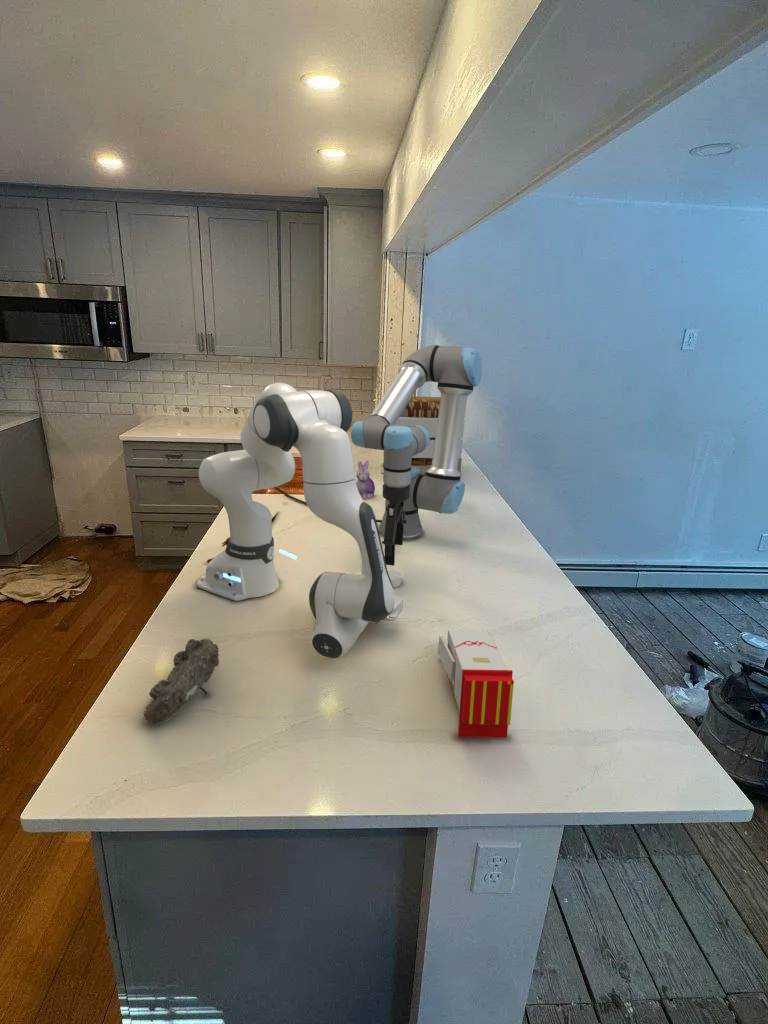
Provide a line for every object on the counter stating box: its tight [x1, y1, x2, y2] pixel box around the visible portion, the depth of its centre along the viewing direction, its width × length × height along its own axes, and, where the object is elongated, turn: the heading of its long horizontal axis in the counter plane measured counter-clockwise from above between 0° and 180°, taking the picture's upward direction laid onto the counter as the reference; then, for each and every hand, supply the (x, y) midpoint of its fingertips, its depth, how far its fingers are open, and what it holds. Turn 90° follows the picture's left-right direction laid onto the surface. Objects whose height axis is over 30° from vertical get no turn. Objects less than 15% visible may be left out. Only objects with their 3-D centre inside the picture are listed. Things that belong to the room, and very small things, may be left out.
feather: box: [272, 512, 279, 524], centre depth 212 cm, size 2×28×2 cm
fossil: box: [144, 638, 220, 724], centre depth 113 cm, size 22×10×15 cm
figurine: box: [355, 460, 376, 500], centre depth 236 cm, size 9×10×15 cm
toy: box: [437, 628, 515, 738], centre depth 117 cm, size 12×13×30 cm
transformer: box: [383, 395, 465, 475], centre depth 268 cm, size 34×33×41 cm
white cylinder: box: [387, 570, 402, 588], centre depth 164 cm, size 6×6×2 cm
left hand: (372, 587), depth 148 cm, fingers closed on jar, 5 cm apart
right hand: (393, 554), depth 162 cm, fingers open, 13 cm apart
